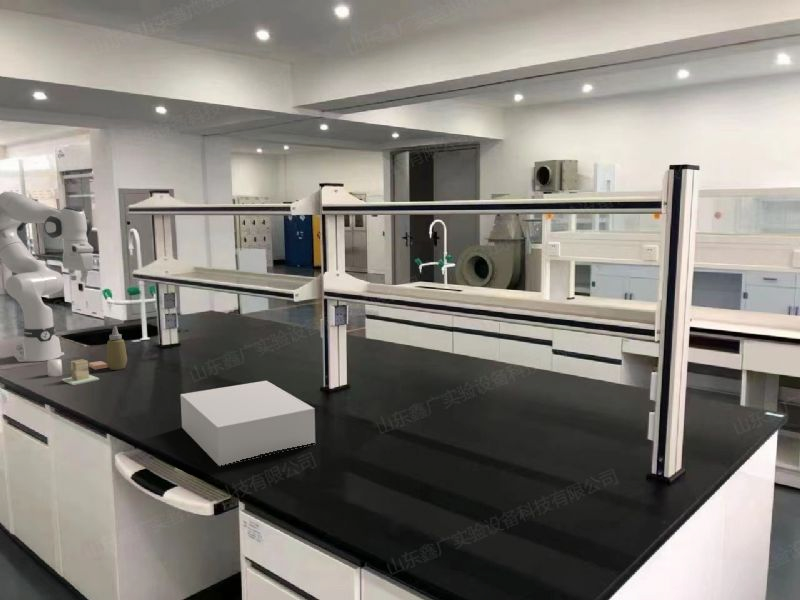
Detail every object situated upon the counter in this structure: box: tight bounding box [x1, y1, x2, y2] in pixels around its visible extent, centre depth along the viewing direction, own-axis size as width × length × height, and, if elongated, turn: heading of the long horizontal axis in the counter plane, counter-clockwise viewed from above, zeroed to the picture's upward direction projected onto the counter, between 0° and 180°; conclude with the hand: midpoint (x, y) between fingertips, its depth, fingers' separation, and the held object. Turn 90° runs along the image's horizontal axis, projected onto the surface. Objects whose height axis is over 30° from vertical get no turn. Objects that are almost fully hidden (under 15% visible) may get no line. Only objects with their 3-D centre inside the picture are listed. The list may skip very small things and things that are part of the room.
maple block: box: [70, 358, 90, 381], centre depth 240 cm, size 4×4×7 cm
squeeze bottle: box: [106, 325, 128, 371], centre depth 257 cm, size 8×8×18 cm
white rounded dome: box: [46, 358, 63, 378], centre depth 248 cm, size 5×5×6 cm
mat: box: [61, 374, 100, 386], centre depth 240 cm, size 10×10×1 cm
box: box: [180, 380, 316, 467], centre depth 180 cm, size 28×35×11 cm
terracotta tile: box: [88, 360, 108, 370], centre depth 261 cm, size 7×5×2 cm
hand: (78, 280), depth 253 cm, fingers open, 8 cm apart
